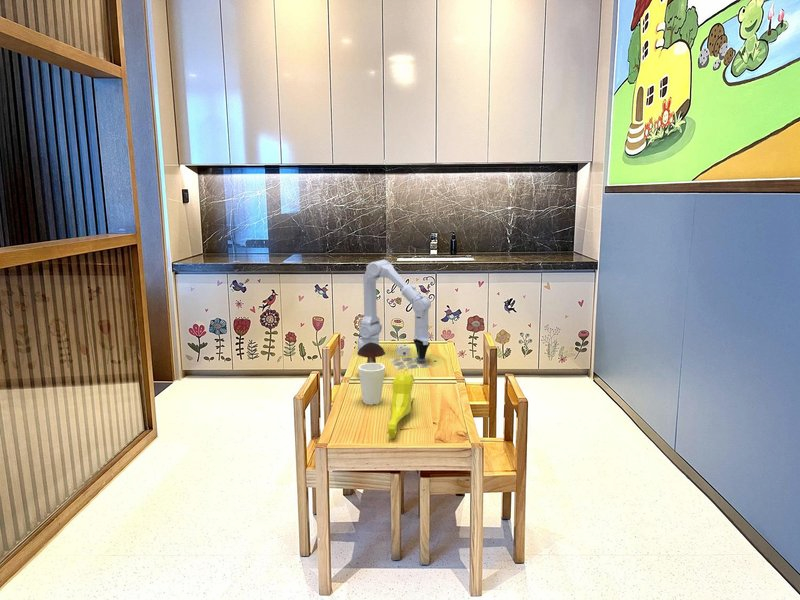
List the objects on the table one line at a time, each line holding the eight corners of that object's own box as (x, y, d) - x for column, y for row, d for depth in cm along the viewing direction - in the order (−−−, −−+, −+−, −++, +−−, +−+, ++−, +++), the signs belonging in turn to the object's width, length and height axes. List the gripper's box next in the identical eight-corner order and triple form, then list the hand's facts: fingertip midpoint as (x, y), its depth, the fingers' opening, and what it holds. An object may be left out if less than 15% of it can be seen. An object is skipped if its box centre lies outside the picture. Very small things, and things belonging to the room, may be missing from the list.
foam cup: (358, 397, 207) (358, 363, 205) (384, 396, 208) (384, 362, 205) (358, 407, 198) (358, 371, 195) (385, 406, 198) (385, 370, 196)
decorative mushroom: (388, 381, 223) (388, 345, 220) (361, 384, 220) (360, 347, 217) (380, 373, 233) (380, 337, 230) (354, 375, 230) (354, 340, 227)
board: (396, 372, 234) (396, 369, 234) (389, 361, 249) (389, 359, 248) (431, 369, 238) (431, 367, 237) (422, 359, 252) (422, 356, 252)
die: (398, 359, 253) (398, 348, 252) (396, 355, 257) (396, 345, 256) (409, 358, 254) (409, 347, 253) (407, 355, 259) (407, 344, 258)
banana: (397, 422, 205) (379, 440, 171) (400, 366, 206) (382, 373, 172) (416, 423, 204) (402, 442, 170) (419, 367, 205) (404, 374, 171)
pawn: (417, 361, 241) (418, 346, 240) (415, 358, 245) (415, 343, 244) (426, 361, 242) (427, 345, 241) (424, 358, 246) (424, 343, 245)
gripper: (435, 329, 235) (434, 361, 237) (426, 321, 249) (425, 351, 251) (418, 330, 233) (418, 362, 236) (410, 322, 247) (410, 352, 250)
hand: (421, 356), depth 244 cm, fingers closed on pawn, 3 cm apart
